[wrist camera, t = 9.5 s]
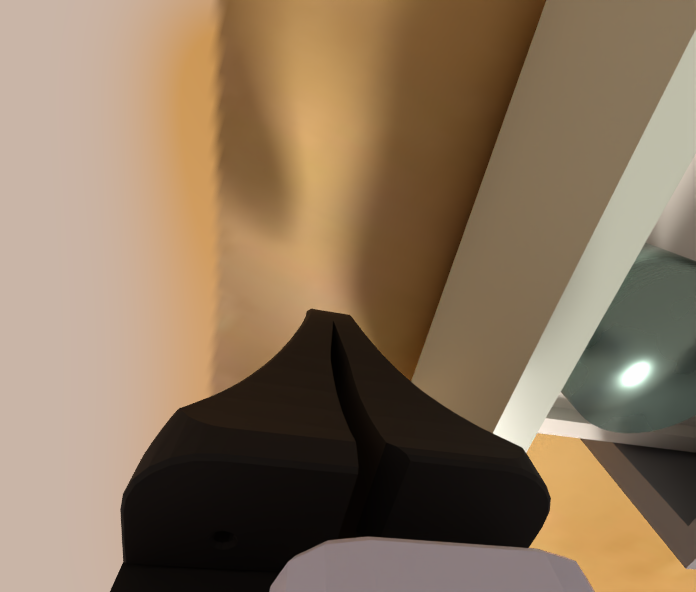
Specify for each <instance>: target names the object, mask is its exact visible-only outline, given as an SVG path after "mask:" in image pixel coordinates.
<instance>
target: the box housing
mask: <svg viewBox="0 0 696 592" xmlns="http://www.w3.org/2000/svg"><path fill="white" fill-rule="evenodd" d="M580 439H581V440H582V441H583V443H584V444H585V445H586V446H587V448H588V449H589V450H590V451H591V452H592V454H593V455H594V456H595V457H596V459H597V460H598V461H599V462H600V464H601V465H602V466H603V467H604V468H605V470H606V471H607V472H608V473H609V475H610V476H611V477H612V478H613V480H614V481H615V482H616V483H617V484H618V486H619V487H620V488H621V489H622V491H623V492H624V493H625V494H626V496H627V497H628V498H629V499H630V501H631V502H632V503H633V504H634V505H635V507H636V508H637V509H638V510H639V512H640V513H641V514H642V515H643V517H644V518H645V519H646V520H647V521H648V523H649V524H650V525H651V526H652V528H653V529H654V530H655V531H656V533H657V534H658V535H659V536H660V537H661V539H662V540H663V541H664V542H665V544H666V545H667V546H668V547H669V549H670V550H671V551H672V552H673V553H674V555H675V556H676V557H677V558H678V560H679V561H680V562H681V563H682V565H683V566H684V567H685V568H686V569H696V453H695V452H687V451H679V450H671V449H663V448H655V447H647V446H639V445H631V444H623V443H615V442H607V441H599V440H590V439H582V438H580Z"/></svg>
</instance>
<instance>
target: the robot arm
mask: <svg viewBox="0 0 696 592" xmlns="http://www.w3.org/2000/svg"><path fill="white" fill-rule="evenodd" d="M550 500H551V498H550V495H549V492H548V489H547V486H546V485H545V483H544V481H543V480H542V478H541V476H540V475H539V473H538V472H537V470H536V468H535V467H534V465H533V463H532V462H531V460H530V459H529V457H528V455H527V454H526V452H525V451H524V449H523V448H522V447H520V446H518V445H516V444H514V443H512V442H510V441H508V440H506V439H504V438H501V437H499V436H497V435H495V434H493V433H491V432H489V431H487V430H485V429H483V428H481V427H479V426H477V425H475V424H473V423H472V422H470V421H468V420H466V419H465V418H463V417H461V416H459V415H458V414H456V413H454V412H453V411H451V410H450V409H448V408H446V407H445V406H443V405H442V404H440V403H439V402H437V401H436V400H435V399H433V398H432V397H430V396H429V395H427V394H426V393H425V392H423V391H422V390H421V389H419V388H418V387H417V386H416V385H414V384H413V383H412V382H411V381H410V380H408V379H407V378H406V377H405V376H404V375H403V374H401V373H400V372H399V371H398V370H397V369H396V368H395V367H394V366H393V365H392V364H391V363H390V362H389V361H388V360H387V359H386V358H385V357H384V356H383V355H382V354H381V353H380V351H379V350H378V349H377V348H376V347H375V346H374V345H373V343H372V342H371V341H370V340H369V339H368V337H367V336H366V335H365V334H364V332H363V331H362V330H361V329H360V327H359V326H358V325H357V323H356V322H355V321H354V319H353V318H352V317H351V316H350V315H346V314H340V313H334V312H328V311H321V310H315V309H310V310H308V311H307V313H306V317H305V319H304V321H303V323H302V324H301V326H300V328H299V329H298V330H297V332H296V333H295V334H294V336H293V337H292V338H291V340H290V341H289V342H288V343H287V344H286V345H285V346H284V347H283V348H282V350H281V351H280V352H279V353H278V354H277V355H275V356H274V357H273V358H272V359H271V360H270V361H269V362H268V363H266V364H265V365H264V366H263V367H261V368H260V369H259V370H257V371H256V372H255V373H253V374H252V375H250V376H249V377H247V378H246V379H244V380H243V381H241V382H240V383H238V384H236V385H234V386H232V387H230V388H228V389H227V390H225V391H223V392H220V393H218V394H216V395H214V396H211V397H209V398H206V399H203V400H201V401H198V402H196V403H193V404H190V405H188V406H185V407H182V408H179V409H178V410H177V411H176V412H175V413H174V415H173V416H172V417H171V418H170V419H169V421H168V422H167V423H166V425H165V426H164V427H163V428H162V430H161V431H160V432H159V434H158V435H157V436H156V438H155V439H154V440H153V442H152V443H151V445H150V446H149V448H148V449H147V451H146V452H145V454H144V456H143V457H142V459H141V461H140V463H139V465H138V466H137V468H136V470H135V472H134V474H133V476H132V478H131V480H130V482H129V484H128V486H127V488H126V489H125V491H124V493H123V498H122V504H121V527H122V545H123V561H124V562H123V564H122V566H121V569H120V571H119V573H118V575H117V577H116V579H115V582H114V584H113V586H112V588H111V591H110V592H595V591H594V590H593V588H592V586H591V585H590V583H589V581H588V579H587V578H586V576H585V575H584V573H583V572H582V570H581V569H580V567H579V565H578V564H577V562H576V561H574V560H571V559H569V558H566V557H564V556H560V555H557V554H553V553H550V552H546V551H543V550H540V549H534V548H529V546H530V545H531V543H532V542H533V540H534V539H535V537H536V536H537V534H538V533H539V531H540V530H541V528H542V527H543V524H544V522H545V520H546V518H547V516H548V514H549V511H550Z"/></svg>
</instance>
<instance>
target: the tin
mask: <svg viewBox="0 0 696 592" xmlns="http://www.w3.org/2000/svg"><path fill="white" fill-rule="evenodd" d="M561 393H562V394H563V395H564V396H565V397H566V399H567V400H568V401H569V402H570V403H571V404H572V405H573V407H574V408H575V409H576V410H577V411H578V412H579V413H580V414H581V416H582V417H583V418H584V419H586V420H587V421H588V422H590V423H591V424H593V425H595V426H597V427H599V428H601V429H604V430H607V431H612V432H617V433H643V432H650V431H655V430H659V429H663V428H666V427H670V426H673V425H675V424H678V423H680V422H683V421H685V420H687V419H689V418H691V417H693V416H695V415H696V261H694V260H691V259H689V258H686V257H683V256H681V255H678V254H675V253H673V252H670V251H667V250H664V249H662V248H659V247H656V246H654V245H651V244H648V243H646V242H645V244H644V246H643V247H642V249H641V251H640V253H639V255H638V256H637V258H636V260H635V262H634V263H633V265H632V267H631V269H630V270H629V272H628V274H627V276H626V277H625V279H624V281H623V283H622V284H621V286H620V288H619V290H618V292H617V293H616V295H615V297H614V299H613V300H612V302H611V304H610V306H609V307H608V309H607V311H606V313H605V314H604V316H603V318H602V320H601V321H600V323H599V325H598V327H597V329H596V330H595V332H594V334H593V336H592V337H591V339H590V341H589V343H588V344H587V346H586V348H585V350H584V351H583V353H582V355H581V357H580V358H579V360H578V362H577V364H576V366H575V367H574V369H573V371H572V373H571V374H570V376H569V378H568V380H567V381H566V383H565V385H564V387H563V388H562V390H561Z"/></svg>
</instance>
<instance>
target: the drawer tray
mask: <svg viewBox="0 0 696 592" xmlns="http://www.w3.org/2000/svg"><path fill="white" fill-rule="evenodd" d="M645 242H646V243H648V244H651V245H654V246H656V247H659V248H662V249H664V250H667V251H670V252H673V253H675V254H678V255H681V256H683V257H686V258H689V259H691V260H694V261H696V0H546V3H545V6H544V8H543V11H542V14H541V17H540V20H539V22H538V25H537V28H536V31H535V34H534V37H533V39H532V42H531V45H530V48H529V51H528V53H527V56H526V59H525V62H524V65H523V68H522V70H521V73H520V76H519V79H518V82H517V84H516V87H515V90H514V93H513V96H512V99H511V101H510V104H509V107H508V110H507V113H506V116H505V118H504V121H503V124H502V127H501V130H500V132H499V135H498V138H497V141H496V144H495V147H494V149H493V152H492V155H491V158H490V161H489V163H488V166H487V169H486V172H485V175H484V178H483V180H482V183H481V186H480V189H479V192H478V194H477V197H476V200H475V203H474V206H473V209H472V211H471V214H470V217H469V220H468V223H467V225H466V228H465V231H464V234H463V237H462V240H461V242H460V245H459V248H458V251H457V254H456V256H455V259H454V262H453V265H452V268H451V271H450V273H449V276H448V279H447V282H446V285H445V287H444V290H443V293H442V296H441V299H440V302H439V304H438V307H437V310H436V313H435V316H434V318H433V321H432V324H431V327H430V330H429V333H428V335H427V338H426V341H425V344H424V347H423V349H422V352H421V355H420V358H419V361H418V364H417V366H416V369H415V372H414V375H413V378H412V380H411V382H412V383H413V384H414V385H416V386H417V387H418V388H419V389H421V390H422V391H423V392H425V393H426V394H427V395H429V396H430V397H432V398H433V399H435V400H436V401H437V402H439V403H440V404H442V405H443V406H445V407H446V408H448V409H450V410H451V411H453V412H454V413H456V414H458V415H459V416H461V417H463V418H465V419H466V420H468V421H470V422H472V423H473V424H475V425H477V426H479V427H481V428H483V429H485V430H487V431H489V432H491V433H493V434H495V435H497V436H499V437H501V438H504V439H506V440H508V441H510V442H512V443H514V444H516V445H518V446H520V447H522V448H523V449H524V451H525V452H527V450H528V448H529V447H530V445H531V443H532V441H533V440H534V438H535V436H536V434H537V433H542V434H550V435H558V436H566V437H574V438H582V439H590V440H599V441H607V442H615V443H623V444H631V445H639V446H647V447H655V448H663V449H671V450H679V451H687V452H695V453H696V415H695V416H693V417H691V418H689V419H687V420H685V421H683V422H680V423H678V424H675V425H673V426H670V427H666V428H663V429H659V430H655V431H650V432H643V433H617V432H612V431H607V430H604V429H601V428H599V427H597V426H595V425H593V424H591V423H590V422H588V421H587V420H586V419H584V418H583V417H582V416H581V414H580V413H579V412H578V411H577V410H576V409H575V408H574V407H573V405H572V404H571V403H570V402H569V401H568V400H567V399H566V397H565V396H564V395H563V394H562V393H561V390H562V388H563V387H564V385H565V383H566V381H567V380H568V378H569V376H570V374H571V373H572V371H573V369H574V367H575V366H576V364H577V362H578V360H579V358H580V357H581V355H582V353H583V351H584V350H585V348H586V346H587V344H588V343H589V341H590V339H591V337H592V336H593V334H594V332H595V330H596V329H597V327H598V325H599V323H600V321H601V320H602V318H603V316H604V314H605V313H606V311H607V309H608V307H609V306H610V304H611V302H612V300H613V299H614V297H615V295H616V293H617V292H618V290H619V288H620V286H621V284H622V283H623V281H624V279H625V277H626V276H627V274H628V272H629V270H630V269H631V267H632V265H633V263H634V262H635V260H636V258H637V256H638V255H639V253H640V251H641V249H642V247H643V246H644V244H645Z"/></svg>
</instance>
